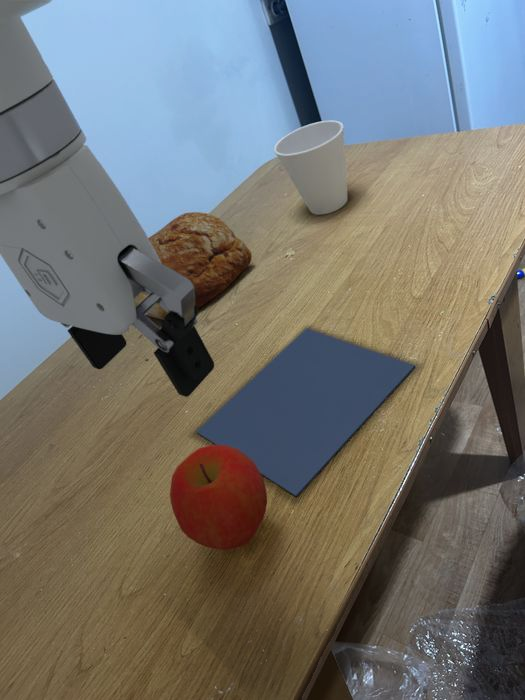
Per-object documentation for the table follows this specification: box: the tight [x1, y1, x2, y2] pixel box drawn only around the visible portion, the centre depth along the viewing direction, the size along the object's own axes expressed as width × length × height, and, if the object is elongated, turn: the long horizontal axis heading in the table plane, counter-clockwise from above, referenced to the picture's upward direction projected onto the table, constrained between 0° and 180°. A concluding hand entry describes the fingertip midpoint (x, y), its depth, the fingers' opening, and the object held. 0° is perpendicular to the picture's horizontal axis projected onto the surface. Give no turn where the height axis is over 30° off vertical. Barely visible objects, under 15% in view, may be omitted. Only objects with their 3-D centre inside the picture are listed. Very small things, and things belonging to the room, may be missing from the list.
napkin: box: [196, 327, 416, 498], centre depth 66 cm, size 17×20×1 cm
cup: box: [273, 119, 348, 216], centre depth 98 cm, size 12×12×12 cm
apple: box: [169, 444, 268, 551], centre depth 52 cm, size 9×8×11 cm
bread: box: [134, 211, 253, 321], centre depth 94 cm, size 20×18×10 cm
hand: (152, 368), depth 42 cm, fingers open, 9 cm apart
